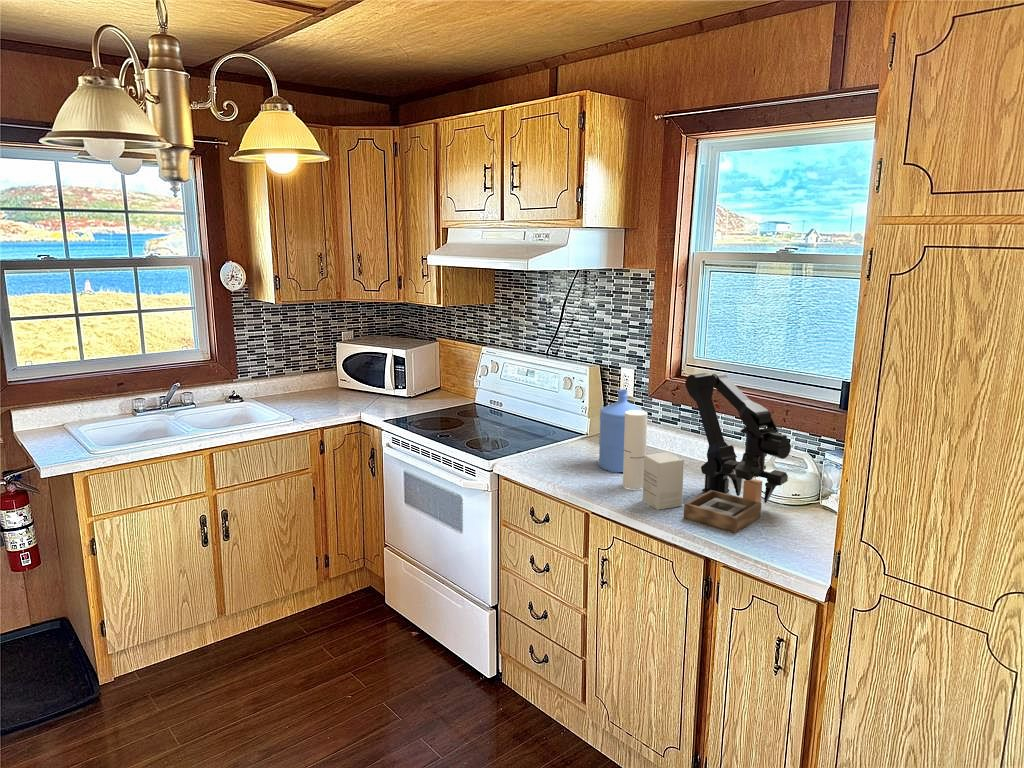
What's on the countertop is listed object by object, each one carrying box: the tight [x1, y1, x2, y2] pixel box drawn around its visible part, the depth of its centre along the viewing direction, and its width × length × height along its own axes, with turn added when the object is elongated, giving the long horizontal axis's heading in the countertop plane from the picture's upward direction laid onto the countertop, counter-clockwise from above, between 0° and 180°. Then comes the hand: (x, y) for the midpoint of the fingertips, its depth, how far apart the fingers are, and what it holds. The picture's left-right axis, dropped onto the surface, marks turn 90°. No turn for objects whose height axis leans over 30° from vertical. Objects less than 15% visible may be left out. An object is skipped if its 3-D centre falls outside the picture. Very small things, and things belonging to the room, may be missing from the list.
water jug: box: [598, 389, 644, 473], centre depth 247 cm, size 16×16×28 cm
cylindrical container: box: [622, 410, 648, 490], centre depth 227 cm, size 7×7×25 cm
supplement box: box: [642, 451, 685, 511], centre depth 213 cm, size 9×9×15 cm
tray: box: [683, 490, 762, 535], centre depth 202 cm, size 16×16×4 cm
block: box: [742, 478, 763, 504], centre depth 211 cm, size 4×4×8 cm
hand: (751, 499), depth 212 cm, fingers open, 8 cm apart
